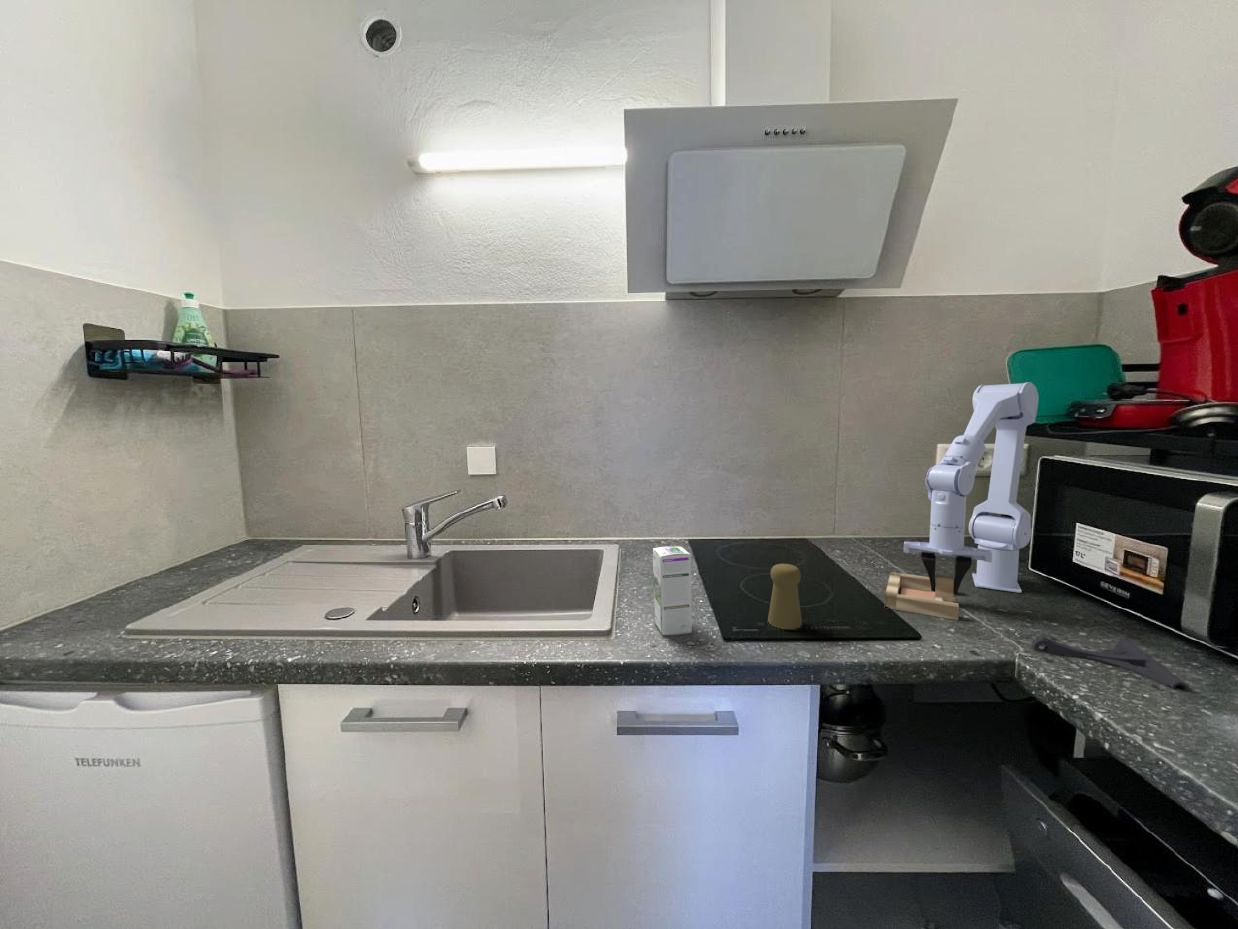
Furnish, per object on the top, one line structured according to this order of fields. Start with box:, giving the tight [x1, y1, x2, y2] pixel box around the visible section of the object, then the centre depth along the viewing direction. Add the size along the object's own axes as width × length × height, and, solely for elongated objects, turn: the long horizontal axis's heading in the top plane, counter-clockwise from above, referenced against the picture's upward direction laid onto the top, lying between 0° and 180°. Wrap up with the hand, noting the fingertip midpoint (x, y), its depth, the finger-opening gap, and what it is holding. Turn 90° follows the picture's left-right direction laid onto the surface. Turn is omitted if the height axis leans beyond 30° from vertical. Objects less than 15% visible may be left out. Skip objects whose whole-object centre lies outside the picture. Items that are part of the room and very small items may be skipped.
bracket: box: [1031, 636, 1190, 692], centre depth 76 cm, size 14×15×3 cm
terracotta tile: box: [900, 587, 935, 600], centre depth 102 cm, size 6×6×2 cm
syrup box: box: [652, 545, 693, 636], centre depth 89 cm, size 6×6×14 cm
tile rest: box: [884, 571, 960, 621], centre depth 101 cm, size 17×12×2 cm
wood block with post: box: [935, 572, 954, 603], centre depth 99 cm, size 10×3×6 cm, turn 148°
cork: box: [767, 563, 803, 629], centre depth 90 cm, size 6×6×11 cm
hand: (944, 591), depth 99 cm, fingers closed on wood block with post, 3 cm apart
